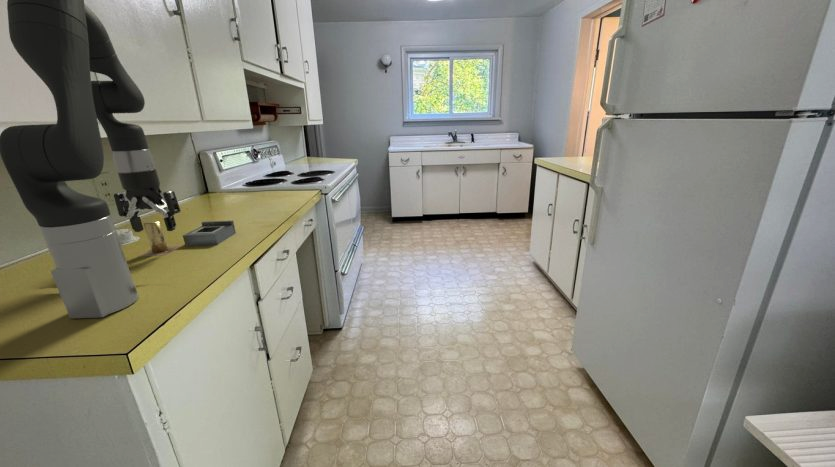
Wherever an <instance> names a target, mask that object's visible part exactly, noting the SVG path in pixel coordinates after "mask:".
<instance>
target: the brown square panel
mask: <svg viewBox="0 0 835 467" xmlns="http://www.w3.org/2000/svg"><path fill="white" fill-rule="evenodd" d="M181 247H182V245H172V246H171V245H169V246H168V245H167V248H168V250H167V251H165V252H162V253H152V250H151V249H150V250H148V251H146V252H143V253H142V254H139V255H137V257H139V258H141V257H143V258H144V257H164V256H166V255H168V254H170V253H172V252H174V251H175V250H179V248H181Z"/></svg>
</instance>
